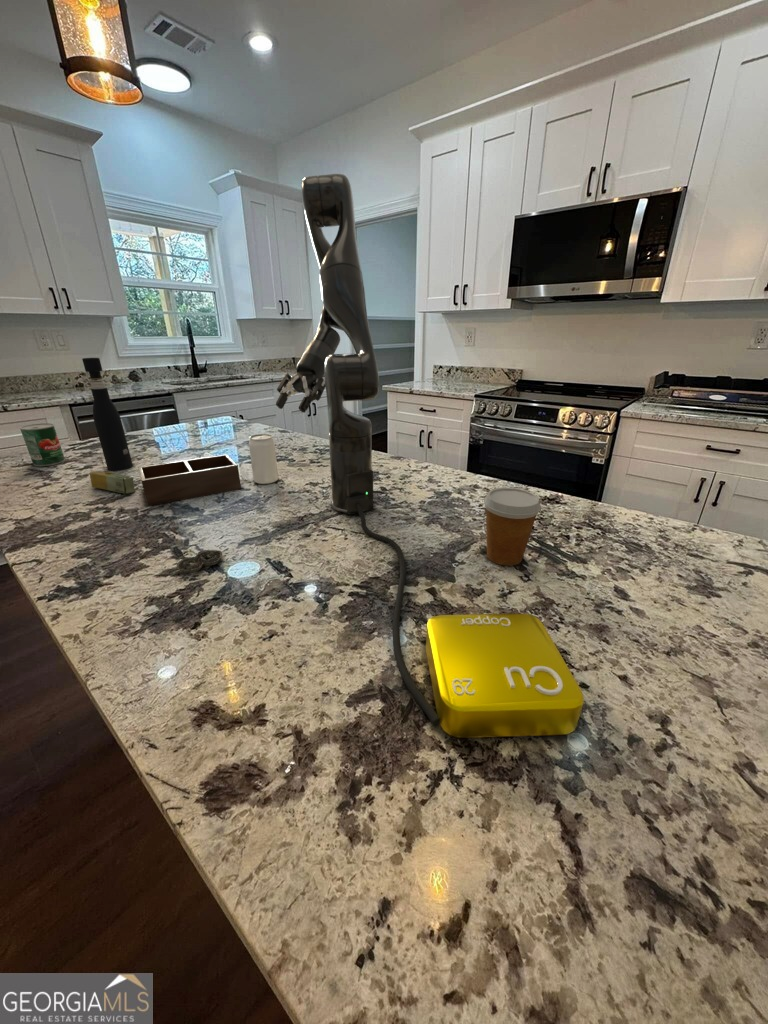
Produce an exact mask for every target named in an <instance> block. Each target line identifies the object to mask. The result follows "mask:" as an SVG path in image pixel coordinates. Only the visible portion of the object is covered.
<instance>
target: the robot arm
mask: <svg viewBox="0 0 768 1024" xmlns="http://www.w3.org/2000/svg"><path fill="white" fill-rule="evenodd" d="M351 185H352V184H351V183H350V181H349V178H348V177H347V176H346V175H345V174H342V173H329V174H320V175H319V174H317V175H310V176H305V177H304V178H303V179H302V181H301V187H300V188H301V189H300V191H301V199H302V200H301V201H302V202H301V203H302V209H303V212H304V217H305V221H306V226H307V229H308V233H309V236H310V240H311V244H312V248H313V251H314V254H315V257H316V260H317V264H318V268H319V272H318V277H319V285H320V295H321V300H322V301H321V302H322V304H323V305H322V309H321V312H320V318H319V322H318V327H317V330H316V332H315V333H314V335H313V338H312V339H311V341H310V342H309V344H308V345H307V347H306V348H305V350H304V352H303V353H302V356H301V358H300V359H299V361H298V362H297V364H296V372H295V374H294V375H291V374H290V373H286V374H284V376H283V378H282V379H281V382H280V383H279V384H278V386H277V388H276V391H277V392H278V393H279V396H278V398H277V399H276V402H275V406H276V407H277V408H278V409H280V410H282V409H284V407H285V405H286V403H287V401H288V399H289V397H291V396H292V395H293V396H295V395H296V394H298V393H302V394H305V395H304V396H303V397H302V400H301V402H300V404H299V406H298V410H299V411H300V412H301V413H304V414H305V413H306V411H308V409H309V407H310V406H311V403H313V402H314V401H320V399H321V398H322V396H323V393H324V391H325V394H326V404H327V405H326V406H327V419H328V421H327V422H328V423H327V424H328V442H329V445H328V446H329V460H330V462H329V465H330V483H331V496H332V497H331V499H332V500H331V507H332V508H333V509H334V510H335V511H336V512H339V513H344V514H348V515H350V516H352V515H355V514H358V515H359V518H360V526H361V529H362V530H363V532H364V533H365V534H366V535H368V536H369V537H371V538H373V539H375V540H378V541H382V542H385V543H387V544H389V545H390V546H391V547H393V549H394V551H395V552H396V553H397V558H398V564H399V579H398V585H397V592H396V597H395V598H396V599H395V604H394V608H393V615H392V647H393V648H392V649H393V653H394V658H395V661H396V665H397V668H398V670H399V674H400V676H401V678H402V680H403V682H404V684H405V687H406V688H407V689H408V691H409V693H410V694H411V696H412V697H413V698H414V700H415V701H416V703H417V704H418V705H419V707H420V708H421V709H422V711H423V712H424V714H425V715H426V717H427V718H428V720H429V721H430V723H431V724H432V726H438V725H440V724H439V717H438V715H437V711H436V710H435V709H434V708H433V706H432V705H431V704H430V702H429V700H427V698H426V697H425V696H424V694H423V693H422V692H421V690H420V689H419V688H418V686H417V685H416V683H415V681H414V680H413V678H412V676H411V674H410V672H409V669H408V668H407V665H406V663H405V660H404V656H403V652H402V646H401V634H400V633H401V632H400V631H401V630H400V622H401V621H400V619H401V612H402V606H403V600H404V593H405V592H404V591H405V584H406V577H407V570H406V562H405V557H404V553H403V550H402V548H401V547H400V545H399V544H398V543H397V542H396V541H395V540H393V539H392V538H390V537H387V536H384V535H381V534H378V533H375V532H373V531H372V530H370V528H368V525H367V522H366V516H365V514H364V512H368V511H372V510H374V470H373V463H372V461H373V460H372V458H373V456H372V449H373V448H372V444H373V443H372V442H373V441H372V433H373V432H372V431H373V430H372V422H371V419H370V418H368V417H366V416H364V415H361V414H357V413H355V412H352V411H350V410H348V409H347V408H346V407H344V402H360V401H372V400H374V399H376V397H377V396H378V394H379V391H380V376H379V375H380V374H379V368H378V363H377V358H376V354H375V350H374V349H375V348H374V344H373V339H372V335H371V329H370V325H369V319H368V311H367V310H368V309H367V301H366V291H365V284H364V277H363V271H362V266H361V260H360V255H359V254H360V253H359V249H358V241H357V230H356V218H355V205H354V195H353V190H352V186H351ZM330 227H331V228H332V227H338V229H337V233H336V236H335V238H334V240H333V242H332V243H331V244H330V241H328V239H327V238H326V236H325V234H324V231H323V229H322V228H330ZM336 329H337V330H339V331H343V333H344V334H345V335H346V336H347V338H348V339H349V342H350V343H351V344H352V347H353V349H354V352H355V353H336V351H337V349H338V347H339V345H340V343H341V336H340V333H339V332H338V331H337V330H336ZM323 377H324V378H323Z"/></svg>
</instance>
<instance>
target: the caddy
mask: <svg viewBox="0 0 768 1024" xmlns="http://www.w3.org/2000/svg"><path fill="white" fill-rule="evenodd" d="M137 470H138V474H139V477H140V481H141V485H142V490H143V493H144V497H145V502H146V504H147V507H151V506H155V505H161V504H165V503H166V504H167V503H172V502H176V501H182V500H188V499H193V498H199V497H203V496H209V495H213V494H220V493H224V492H225V493H226V492H230V491H235V490H240V489H242V485H241V478H240V477H241V476H240V473H239V472H240V471H239V465H238V464H237V463H236V462H235V461H234V459H232V457H231V456H230V455H229V454H228V453H226V454H220V455H212V456H205V457H198V458H192V459H184V460H178V461H177V460H176V461H171V462H164V463H157V464H151V465H144V466H143V465H142V466H138V467H137Z"/></svg>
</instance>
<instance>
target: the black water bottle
mask: <svg viewBox="0 0 768 1024" xmlns="http://www.w3.org/2000/svg"><path fill="white" fill-rule="evenodd" d="M81 361H82V364H83V366H84V370H85V372H86V373H88V374H89V379H90V380H91V381H90V384H89V385H90V387H91V389H90V391H91V396H92V398H93V404H92V417H93V418H92V419H93V423H94V426H95V430H96V433H97V437H98V439H99V443H100V446H101V450H102V454H103V457H104V460H105V465H106V468H107V470H108V471H123V470H127V469H130V468H132V467H133V466H134V465H133V461H132V457H131V453H130V449H129V445H128V442H127V436H126V434H125V430H124V425H123V422H122V418H121V415H120V413H119V411H118V409H117V407H116V405H115V404H114V402H113V401H112V399H111V398H110V394H109V389H108V388H107V387H106V382H105V381H104V380H102V379H103V377H102V374H101V372H103V371H104V369H103V367H102V362H101V359H100V357H83V358H81Z"/></svg>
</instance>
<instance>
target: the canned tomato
mask: <svg viewBox="0 0 768 1024" xmlns="http://www.w3.org/2000/svg"><path fill="white" fill-rule="evenodd" d="M19 430H20V432H21V435H22V438H23V440H24V443H25V446H26V449H27V451H28V454H29V457H30V459H31V462H32V465H33V466H34V467H49V466H55V465H59V464H62V463H64V462H66V458H65V455H64V451H63V448H62V446H61V442H60V440H59V436H58V433H57V431H56V427H55V424H54V423H50V422H49V423H48V422H47V423H46V422H45V423H44V422H43V423H42V422H41V423H33V424H27V425H23V426H20V427H19Z"/></svg>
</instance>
